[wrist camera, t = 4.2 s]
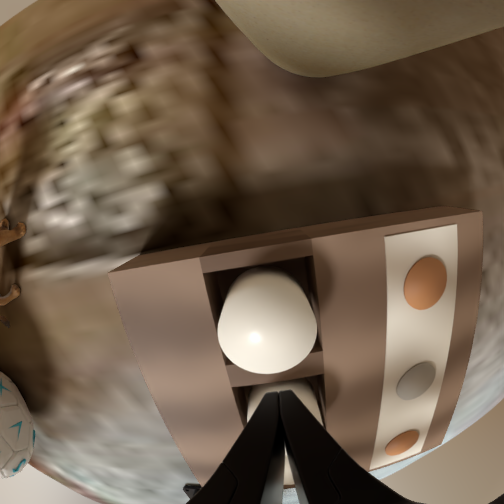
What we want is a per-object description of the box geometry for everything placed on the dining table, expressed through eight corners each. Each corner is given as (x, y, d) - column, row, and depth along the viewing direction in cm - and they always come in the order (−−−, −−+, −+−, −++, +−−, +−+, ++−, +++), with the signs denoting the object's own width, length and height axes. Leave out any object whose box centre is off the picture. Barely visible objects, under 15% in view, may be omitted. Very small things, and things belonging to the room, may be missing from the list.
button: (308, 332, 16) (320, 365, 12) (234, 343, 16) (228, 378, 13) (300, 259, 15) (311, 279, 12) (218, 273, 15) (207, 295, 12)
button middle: (315, 414, 17) (324, 449, 14) (254, 423, 17) (253, 459, 14) (312, 367, 16) (322, 403, 13) (242, 377, 17) (239, 415, 13)
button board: (423, 416, 21) (442, 446, 16) (211, 458, 22) (205, 494, 18) (443, 205, 17) (485, 211, 12) (139, 255, 18) (105, 274, 14)
